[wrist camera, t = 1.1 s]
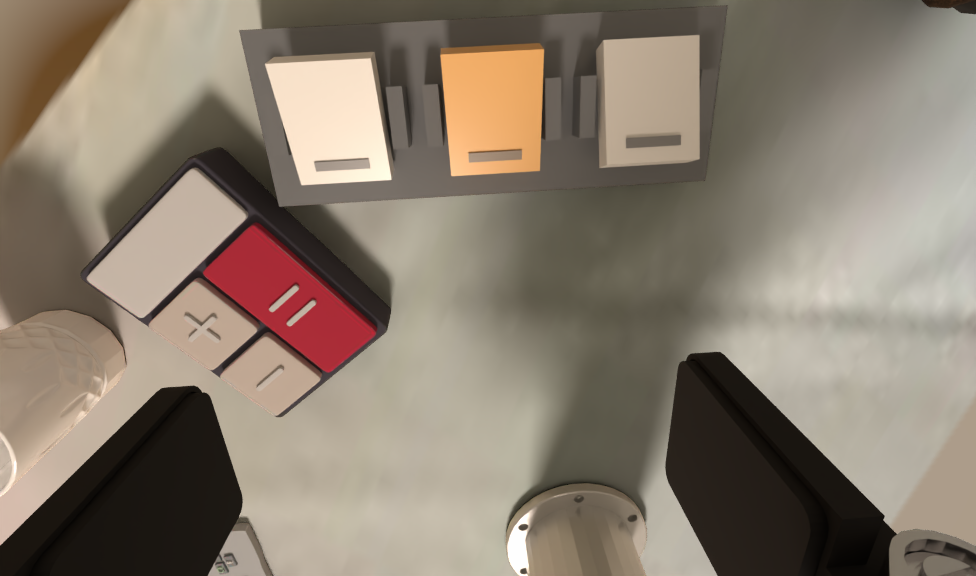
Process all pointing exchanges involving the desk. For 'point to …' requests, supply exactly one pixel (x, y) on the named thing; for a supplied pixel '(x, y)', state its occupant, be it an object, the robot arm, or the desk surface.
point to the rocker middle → (493, 107)
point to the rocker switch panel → (421, 106)
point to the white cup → (50, 383)
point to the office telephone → (241, 555)
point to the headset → (954, 5)
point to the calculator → (239, 284)
